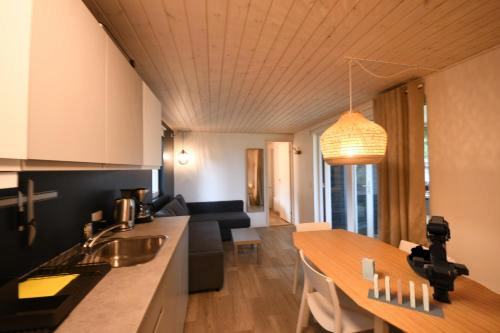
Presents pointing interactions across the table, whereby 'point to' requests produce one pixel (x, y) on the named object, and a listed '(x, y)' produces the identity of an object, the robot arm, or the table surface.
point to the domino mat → (407, 303)
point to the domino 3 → (399, 291)
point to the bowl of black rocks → (421, 253)
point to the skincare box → (368, 269)
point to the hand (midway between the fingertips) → (439, 284)
